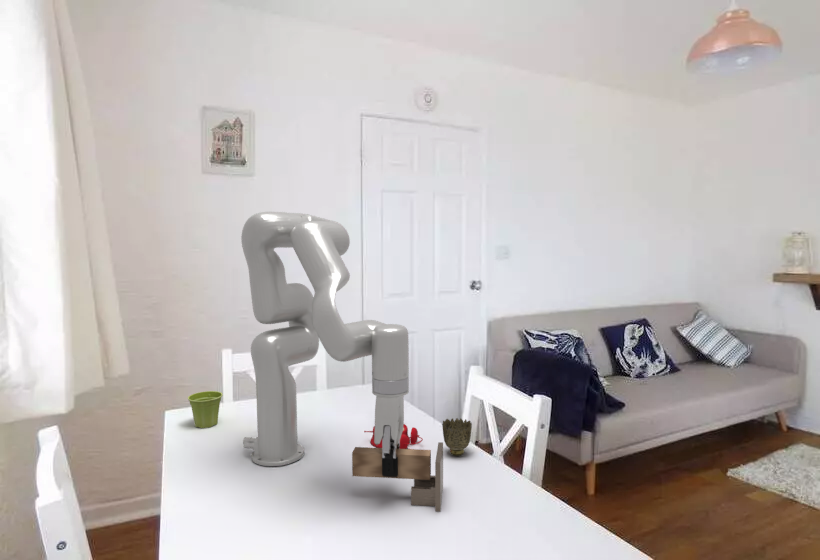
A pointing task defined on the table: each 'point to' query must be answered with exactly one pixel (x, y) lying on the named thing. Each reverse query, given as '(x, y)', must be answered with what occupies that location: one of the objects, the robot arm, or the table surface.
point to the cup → (457, 435)
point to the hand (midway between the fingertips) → (391, 471)
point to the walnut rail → (409, 463)
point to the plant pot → (205, 408)
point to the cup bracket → (430, 485)
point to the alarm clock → (403, 440)
